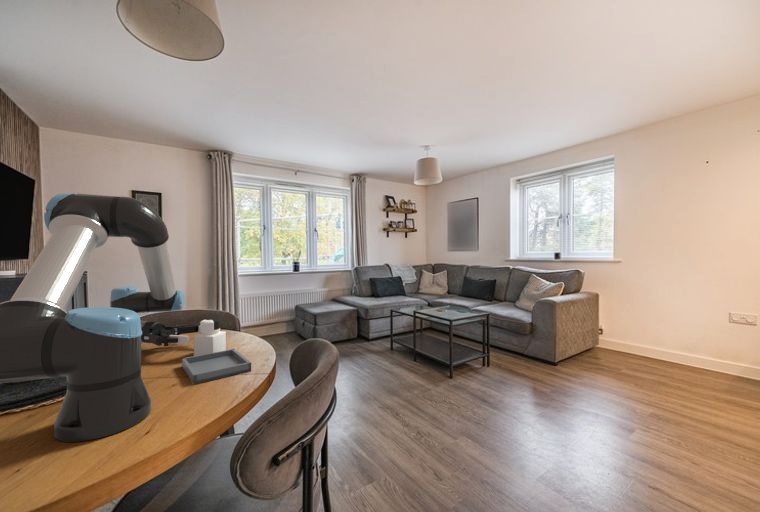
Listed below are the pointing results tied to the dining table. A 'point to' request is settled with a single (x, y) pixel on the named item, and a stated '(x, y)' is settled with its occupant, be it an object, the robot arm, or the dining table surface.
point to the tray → (215, 365)
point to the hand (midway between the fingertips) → (202, 334)
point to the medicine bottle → (209, 338)
